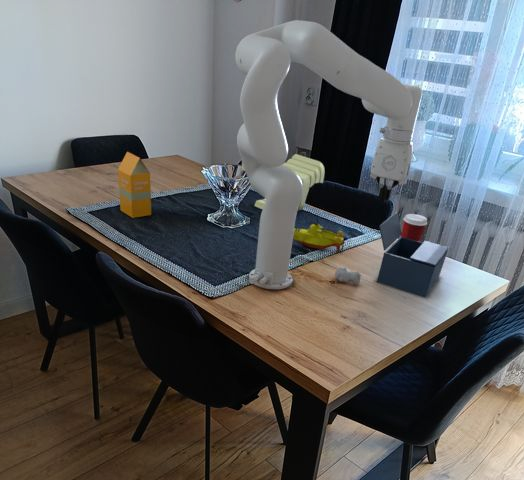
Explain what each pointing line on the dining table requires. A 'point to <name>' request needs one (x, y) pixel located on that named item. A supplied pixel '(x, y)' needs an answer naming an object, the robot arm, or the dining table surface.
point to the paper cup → (413, 226)
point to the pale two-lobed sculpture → (347, 275)
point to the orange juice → (134, 187)
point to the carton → (412, 265)
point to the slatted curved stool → (301, 175)
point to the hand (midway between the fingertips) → (383, 201)
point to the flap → (390, 230)
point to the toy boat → (318, 237)
